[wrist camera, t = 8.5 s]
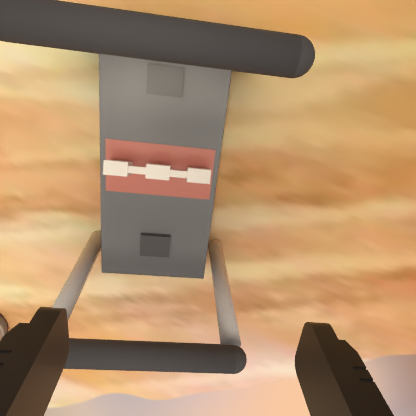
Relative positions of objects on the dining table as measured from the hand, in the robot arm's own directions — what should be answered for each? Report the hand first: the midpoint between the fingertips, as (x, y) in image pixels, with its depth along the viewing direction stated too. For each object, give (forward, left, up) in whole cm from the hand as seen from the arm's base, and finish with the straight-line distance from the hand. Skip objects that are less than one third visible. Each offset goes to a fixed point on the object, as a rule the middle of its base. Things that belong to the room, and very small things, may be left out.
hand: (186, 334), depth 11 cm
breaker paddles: (+2, +1, -22) cm, 22 cm away
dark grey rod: (+2, +12, -11) cm, 16 cm away
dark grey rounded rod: (+2, -9, -11) cm, 14 cm away
